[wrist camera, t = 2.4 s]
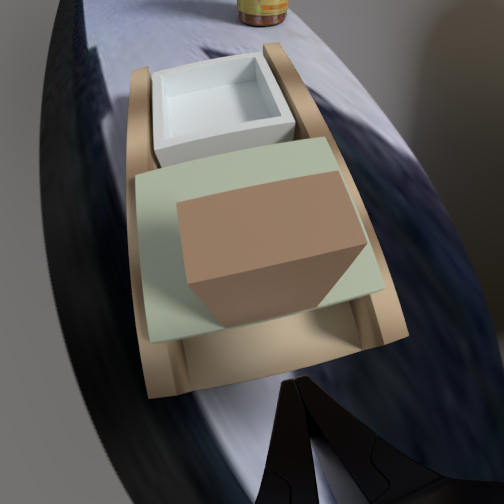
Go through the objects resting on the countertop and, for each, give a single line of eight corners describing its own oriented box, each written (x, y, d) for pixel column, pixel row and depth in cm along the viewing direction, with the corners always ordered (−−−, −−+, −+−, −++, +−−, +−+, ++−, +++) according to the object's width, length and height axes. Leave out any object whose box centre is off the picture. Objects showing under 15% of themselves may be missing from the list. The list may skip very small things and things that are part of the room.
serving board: (389, 340, 17) (420, 331, 13) (162, 394, 17) (135, 400, 13) (285, 77, 26) (287, 41, 22) (137, 107, 25) (124, 73, 21)
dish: (292, 152, 21) (295, 121, 18) (166, 178, 21) (153, 150, 18) (261, 80, 25) (261, 51, 22) (161, 100, 24) (152, 73, 21)
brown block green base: (381, 290, 14) (470, 217, 7) (154, 343, 13) (56, 310, 6) (323, 143, 17) (346, 32, 10) (138, 181, 17) (83, 79, 10)
